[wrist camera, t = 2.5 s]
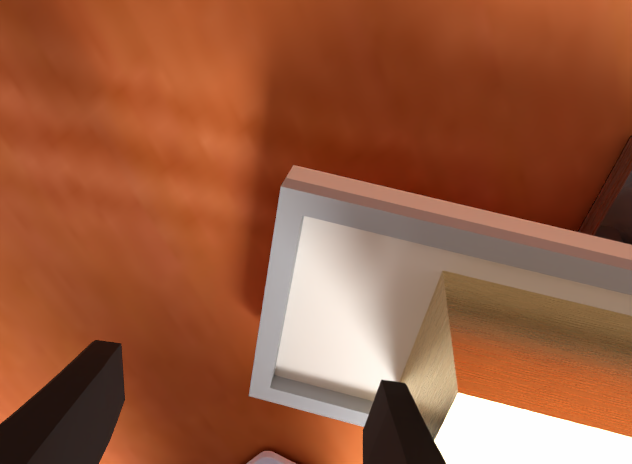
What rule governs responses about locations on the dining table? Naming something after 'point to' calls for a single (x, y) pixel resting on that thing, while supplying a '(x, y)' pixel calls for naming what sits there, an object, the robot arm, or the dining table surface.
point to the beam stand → (613, 203)
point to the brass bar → (522, 376)
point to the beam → (395, 283)
